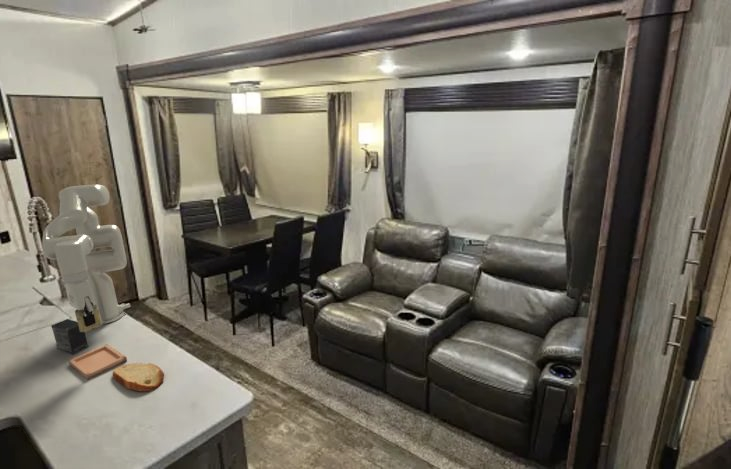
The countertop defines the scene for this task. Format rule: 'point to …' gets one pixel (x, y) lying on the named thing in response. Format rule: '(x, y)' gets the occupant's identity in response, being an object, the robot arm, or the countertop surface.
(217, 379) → the countertop surface
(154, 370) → the slice of bread
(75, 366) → the rest tray
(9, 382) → the countertop surface
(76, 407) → the countertop surface
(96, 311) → the lighter
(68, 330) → the small box
